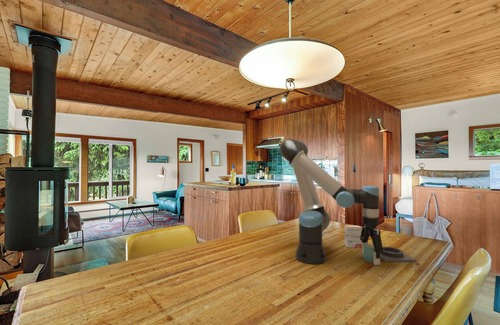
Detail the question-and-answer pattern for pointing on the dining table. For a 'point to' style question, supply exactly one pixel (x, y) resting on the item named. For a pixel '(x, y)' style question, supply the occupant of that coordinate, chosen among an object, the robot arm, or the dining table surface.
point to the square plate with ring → (395, 255)
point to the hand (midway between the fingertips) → (370, 259)
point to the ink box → (353, 236)
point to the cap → (369, 253)
